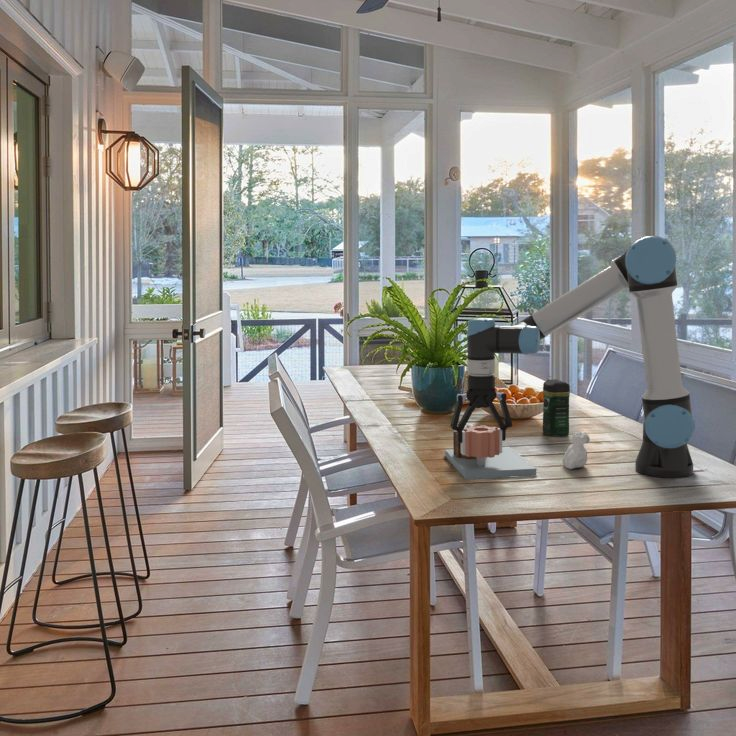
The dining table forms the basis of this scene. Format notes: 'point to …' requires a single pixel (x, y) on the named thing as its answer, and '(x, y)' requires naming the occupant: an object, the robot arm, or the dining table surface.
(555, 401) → the coffee jar
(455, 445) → the walnut gear
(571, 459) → the white rounded figure
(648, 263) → the robot arm
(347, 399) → the dining table surface
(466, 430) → the brick-red gear
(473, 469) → the slate gear board
